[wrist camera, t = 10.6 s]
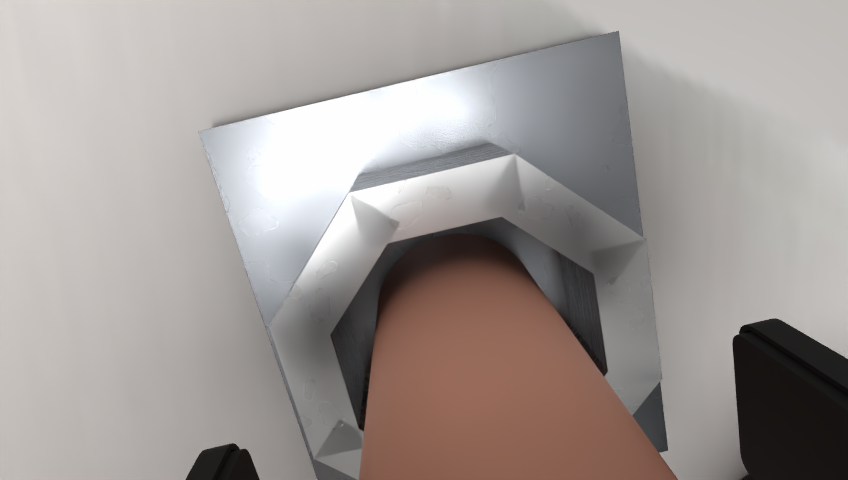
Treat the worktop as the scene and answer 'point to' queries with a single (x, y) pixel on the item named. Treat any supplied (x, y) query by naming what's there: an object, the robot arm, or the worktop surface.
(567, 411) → the cylinder
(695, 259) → the worktop surface
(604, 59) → the ring block
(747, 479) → the drinking cup
